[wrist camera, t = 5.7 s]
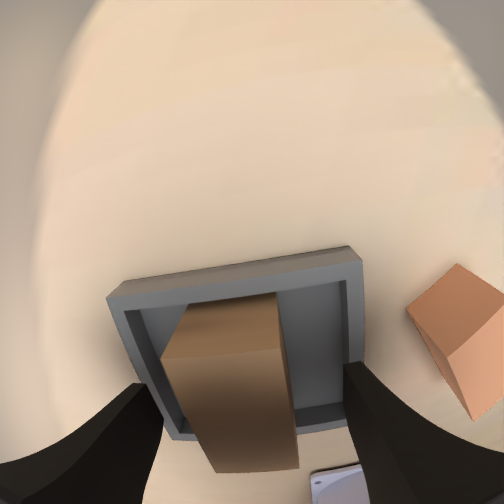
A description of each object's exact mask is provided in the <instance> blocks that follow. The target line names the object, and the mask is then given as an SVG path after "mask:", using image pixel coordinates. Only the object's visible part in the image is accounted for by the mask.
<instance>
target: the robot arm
mask: <svg viewBox="0 0 504 504" xmlns="http://www.w3.org/2000/svg"><path fill="white" fill-rule="evenodd" d="M343 406H344V410H345V415H346V420H347V425H348V428H349V431H350V434H351V437H352V440H353V443H354V446H355V449H356V452H357V455H358V458H359V461H360V464H358V465H354V466H349V467H345V468H340V469H335V470H329V471H324V472H318V473H314V474H312V475H311V476H310V482H311V492H312V503H313V504H504V453H502V452H498V451H494V450H490V449H487V448H484V447H481V446H478V445H475V444H473V443H470V442H468V441H466V440H464V439H461V438H459V437H457V436H455V435H453V434H451V433H449V432H447V431H445V430H443V429H442V428H440V427H438V426H436V425H435V424H433V423H432V422H430V421H428V420H427V419H425V418H424V417H422V416H421V415H420V414H418V413H417V412H415V411H414V410H413V409H412V408H410V407H409V406H408V405H406V404H405V403H404V402H403V401H402V400H400V399H399V398H398V397H397V396H396V395H395V394H394V393H393V392H391V391H390V390H389V389H388V388H387V387H386V386H385V385H384V384H383V383H382V382H381V381H380V380H379V379H378V378H377V377H376V376H375V375H374V374H373V373H372V372H371V371H370V370H369V369H368V368H367V367H366V366H365V364H364V363H363V362H361V361H356V362H351V363H347V364H343ZM163 424H164V417H163V415H162V414H161V412H160V410H159V408H158V406H157V404H156V402H155V400H154V398H153V396H152V394H151V392H150V390H149V388H148V386H147V384H146V383H133V384H131V385H130V386H129V387H127V388H126V389H125V390H124V391H123V392H121V393H120V394H119V395H118V396H117V397H116V398H114V399H113V400H112V401H111V402H110V403H109V404H108V405H106V406H105V407H104V408H103V409H102V410H101V411H99V412H98V413H97V414H96V415H95V416H93V417H92V418H91V419H90V420H88V421H87V422H86V423H84V424H83V425H82V426H81V427H79V428H78V429H77V430H75V431H74V432H72V433H71V434H69V435H68V436H66V437H65V438H63V439H62V440H60V441H58V442H57V443H55V444H53V445H51V446H49V447H47V448H45V449H43V450H41V451H39V452H37V453H34V454H32V455H29V456H26V457H24V458H21V459H18V460H14V461H11V462H6V463H2V464H0V504H142V500H143V494H144V490H145V486H146V483H147V480H148V477H149V474H150V471H151V468H152V465H153V462H154V459H155V456H156V453H157V450H158V447H159V444H160V441H161V436H162V430H163Z"/></svg>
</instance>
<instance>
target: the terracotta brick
mask: <svg viewBox="0 0 504 504" xmlns="http://www.w3.org/2000/svg"><path fill="white" fill-rule="evenodd" d="M406 310H407V311H408V313H409V315H410V317H411V318H412V320H413V322H414V323H415V325H416V327H417V329H418V330H419V332H420V334H421V336H422V338H423V339H424V341H425V343H426V345H427V347H428V349H429V350H430V352H431V354H432V356H433V358H434V360H435V362H436V364H437V366H438V368H439V370H440V372H441V374H442V375H443V377H444V379H445V380H446V382H447V383H448V384H449V386H450V387H451V389H452V390H453V392H454V393H455V395H456V396H457V398H458V399H459V401H460V402H461V404H462V405H463V407H464V408H465V410H466V411H467V413H468V415H469V416H470V418H471V419H472V421H473V422H474V421H475V420H477V419H478V418H479V417H480V416H481V415H483V414H484V413H485V412H486V411H487V410H489V409H490V408H491V407H492V406H493V405H494V404H496V403H497V402H498V401H499V400H500V399H501V398H502V397H503V396H504V294H503V293H502V292H500V291H499V290H497V289H496V288H494V287H493V286H491V285H490V284H488V283H487V282H485V281H484V280H482V279H481V278H479V277H478V276H476V275H475V274H473V273H471V272H470V271H468V270H467V269H465V268H464V267H462V266H460V265H459V264H456V265H455V266H454V267H453V268H452V269H451V270H449V271H448V272H447V273H446V274H445V275H444V276H443V277H442V278H441V279H440V280H438V281H437V282H436V283H435V284H434V285H433V286H432V287H431V288H429V289H428V290H427V291H426V292H425V293H424V294H422V295H421V296H420V297H419V298H418V299H416V300H415V301H414V302H413V303H412V304H410V305H409V306H408V307H407V308H406Z"/></svg>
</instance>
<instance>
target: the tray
mask: <svg viewBox="0 0 504 504" xmlns="http://www.w3.org/2000/svg"><path fill="white" fill-rule="evenodd" d="M270 292H277V298H278V304H279V310H280V317H281V323H282V329H283V335H284V342H285V348H286V355H287V361H288V368H289V374H290V381H291V387H292V394H293V401H294V412H295V423H296V434H297V435H299V434H306V433H312V432H319V431H324V430H330V429H335V428H340V427H345V426H348V425H347V420H346V415H345V410H344V406H343V364H347V363H351V362H356V361H361V362H363V363H364V284H363V264H362V259H361V258H360V257H359V256H358V255H357V254H356V253H355V252H354V251H353V250H352V249H351V247H350V246H344V247H338V248H332V249H326V250H320V251H314V252H308V253H301V254H295V255H289V256H283V257H277V258H271V259H264V260H258V261H252V262H246V263H239V264H233V265H227V266H220V267H214V268H208V269H201V270H195V271H188V272H182V273H175V274H169V275H162V276H155V277H149V278H142V279H136V280H129V281H124V282H122V283H121V284H120V285H119V286H118V287H117V288H116V289H115V290H114V291H113V292H112V293H110V294H109V295H108V296H107V297H106V300H107V303H108V306H109V309H110V311H111V314H112V317H113V319H114V322H115V324H116V327H117V329H118V332H119V334H120V337H121V339H122V341H123V344H124V346H125V348H126V351H127V353H128V355H129V358H130V360H131V362H132V364H133V366H134V369H135V371H136V373H137V375H138V377H139V379H140V381H141V383H146V384H147V386H148V388H149V390H150V392H151V394H152V396H153V398H154V400H155V402H156V404H157V406H158V408H159V410H160V412H161V414H162V415H163V417H164V424H163V425H164V427H165V428H166V430H167V432H168V433H169V435H170V437H171V438H172V440H181V441H198V440H197V438H196V436H195V434H194V432H193V430H192V428H191V426H190V424H189V422H188V420H187V418H186V416H185V414H184V412H183V410H182V407H181V405H180V403H179V401H178V399H177V397H176V395H175V392H174V390H173V388H172V386H171V383H170V381H169V379H168V376H167V374H166V372H165V369H164V367H163V365H162V362H161V360H160V358H161V356H162V354H163V352H164V351H165V349H166V347H167V345H168V343H169V341H170V339H171V337H172V335H173V333H174V331H175V329H176V327H177V325H178V323H179V321H180V319H181V317H182V315H183V314H184V312H185V310H186V308H187V306H188V304H190V303H198V302H206V301H214V300H221V299H228V298H236V297H243V296H250V295H256V294H263V293H270Z"/></svg>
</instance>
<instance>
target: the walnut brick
mask: <svg viewBox="0 0 504 504" xmlns="http://www.w3.org/2000/svg"><path fill="white" fill-rule="evenodd" d="M160 360H161V362H162V365H163V367H164V369H165V372H166V374H167V376H168V379H169V381H170V383H171V386H172V388H173V390H174V392H175V395H176V397H177V399H178V401H179V403H180V405H181V407H182V410H183V412H184V414H185V416H186V418H187V420H188V422H189V424H190V426H191V428H192V430H193V432H194V434H195V436H196V438H197V440H198V441H199V443H200V445H201V447H202V449H203V451H204V453H205V454H206V456H207V458H208V460H209V462H210V463H211V465H212V467H213V469H214V470H215V472H216V473H251V472H268V471H279V470H289V469H298V468H299V457H298V445H297V434H296V423H295V412H294V401H293V394H292V387H291V381H290V374H289V368H288V361H287V355H286V348H285V342H284V335H283V329H282V323H281V317H280V310H279V304H278V298H277V292H270V293H263V294H256V295H250V296H243V297H236V298H228V299H221V300H214V301H206V302H198V303H190V304H188V306H187V308H186V310H185V312H184V314H183V315H182V317H181V319H180V321H179V323H178V325H177V327H176V329H175V331H174V333H173V335H172V337H171V339H170V341H169V343H168V345H167V347H166V349H165V351H164V352H163V354H162V356H161V358H160Z"/></svg>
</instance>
